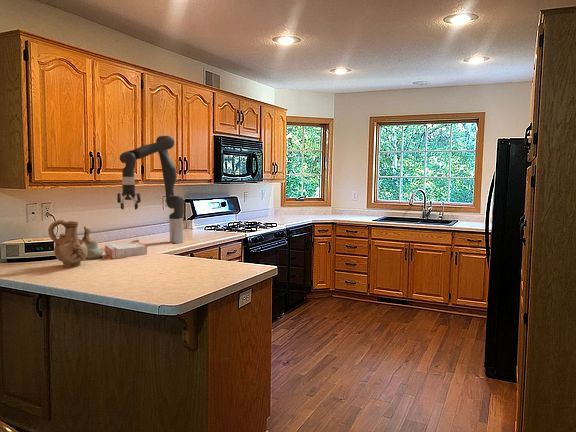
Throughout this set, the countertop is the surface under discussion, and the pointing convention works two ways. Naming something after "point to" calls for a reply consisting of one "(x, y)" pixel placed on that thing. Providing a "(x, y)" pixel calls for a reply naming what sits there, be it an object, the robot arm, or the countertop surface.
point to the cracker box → (125, 250)
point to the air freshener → (93, 251)
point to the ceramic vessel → (70, 243)
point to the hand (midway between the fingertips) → (129, 209)
